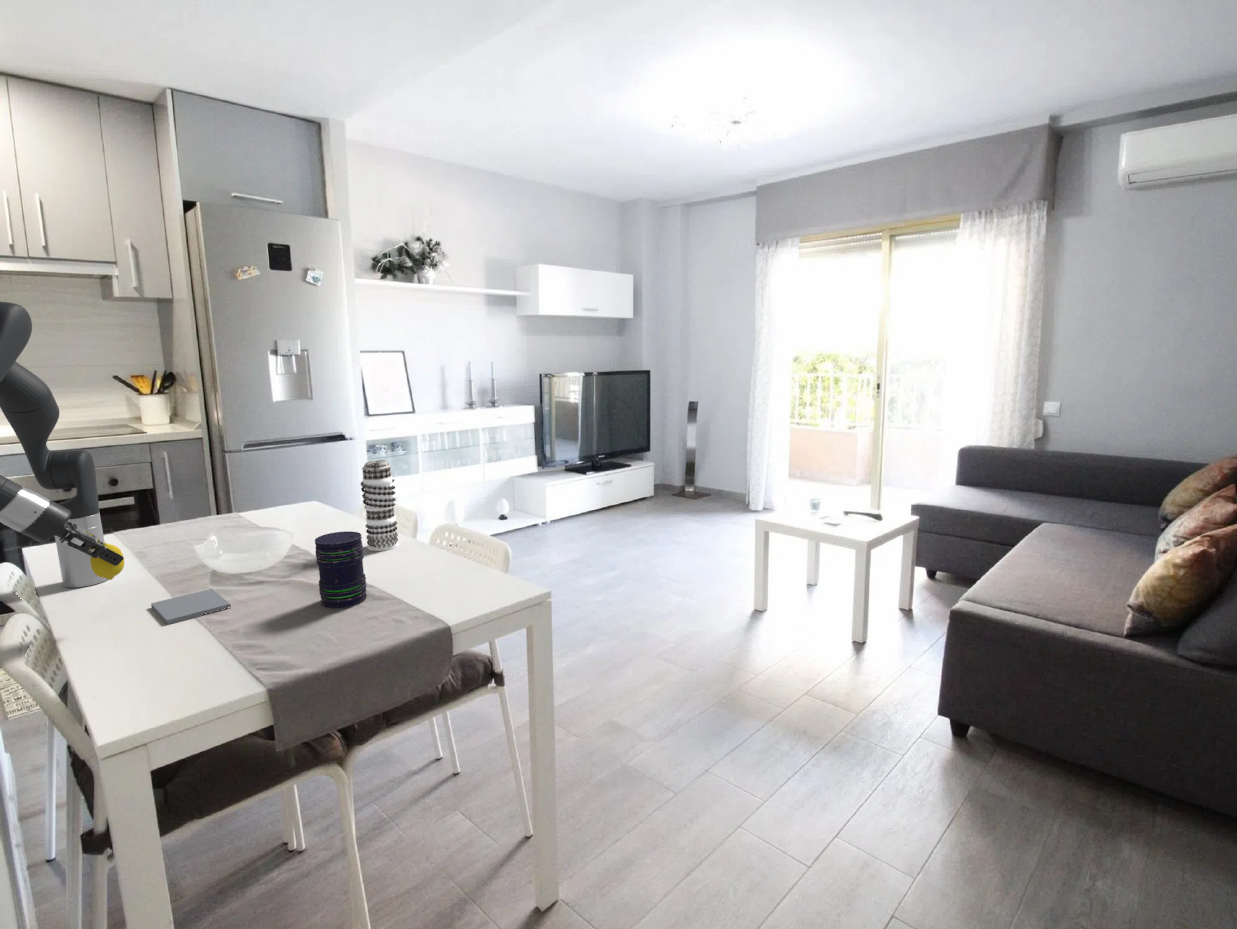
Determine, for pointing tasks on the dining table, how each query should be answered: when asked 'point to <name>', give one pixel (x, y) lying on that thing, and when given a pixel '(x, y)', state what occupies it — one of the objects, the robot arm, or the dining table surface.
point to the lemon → (107, 564)
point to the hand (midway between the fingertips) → (117, 558)
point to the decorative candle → (379, 505)
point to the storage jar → (341, 569)
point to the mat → (189, 606)
